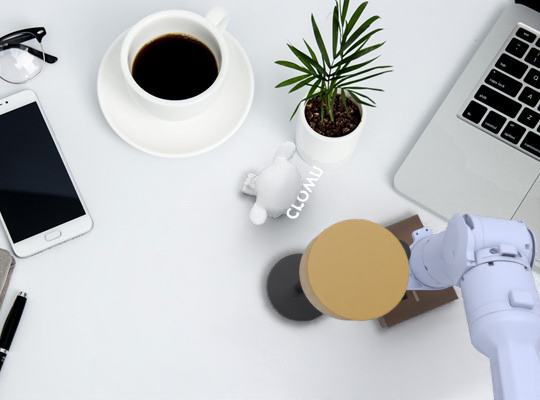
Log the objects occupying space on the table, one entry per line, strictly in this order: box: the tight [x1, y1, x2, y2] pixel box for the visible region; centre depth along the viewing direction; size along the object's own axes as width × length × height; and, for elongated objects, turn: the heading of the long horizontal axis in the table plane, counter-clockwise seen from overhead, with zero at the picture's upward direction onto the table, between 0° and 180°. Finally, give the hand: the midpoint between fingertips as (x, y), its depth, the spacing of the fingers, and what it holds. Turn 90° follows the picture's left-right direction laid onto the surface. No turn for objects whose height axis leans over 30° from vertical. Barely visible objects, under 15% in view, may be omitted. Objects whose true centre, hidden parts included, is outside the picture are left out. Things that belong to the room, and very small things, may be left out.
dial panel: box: [377, 214, 459, 329], centre depth 82 cm, size 12×10×3 cm
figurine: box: [241, 140, 324, 227], centre depth 82 cm, size 12×8×10 cm
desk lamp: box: [265, 218, 411, 322], centre depth 60 cm, size 9×10×48 cm
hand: (410, 268), depth 77 cm, fingers open, 7 cm apart
